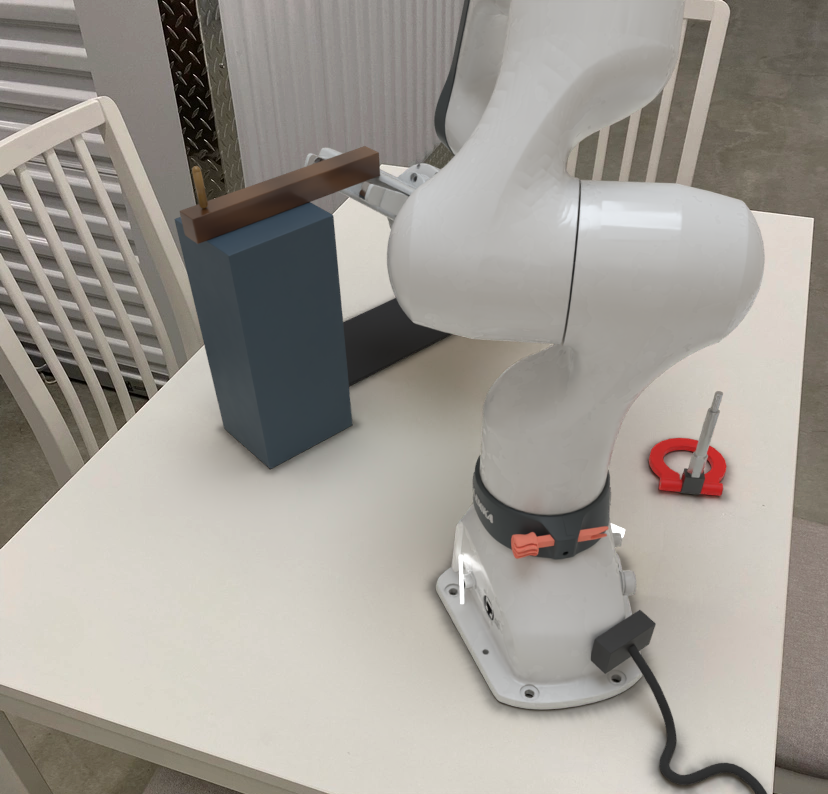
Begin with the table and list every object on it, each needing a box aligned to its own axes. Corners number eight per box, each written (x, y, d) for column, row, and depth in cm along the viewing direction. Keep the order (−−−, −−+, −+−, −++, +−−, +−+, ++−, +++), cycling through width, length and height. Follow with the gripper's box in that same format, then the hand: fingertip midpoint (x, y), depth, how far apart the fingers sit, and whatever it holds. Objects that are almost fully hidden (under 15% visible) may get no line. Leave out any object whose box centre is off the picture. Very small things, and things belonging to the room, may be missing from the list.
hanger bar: (366, 169, 87) (362, 106, 82) (380, 176, 86) (377, 112, 81) (184, 235, 77) (169, 168, 73) (197, 244, 76) (182, 177, 72)
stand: (304, 388, 104) (275, 182, 85) (352, 425, 99) (333, 214, 80) (223, 428, 99) (173, 218, 80) (270, 469, 94) (228, 255, 75)
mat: (399, 298, 118) (399, 296, 118) (455, 332, 112) (455, 329, 112) (285, 351, 110) (285, 348, 110) (339, 391, 104) (339, 388, 103)
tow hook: (646, 442, 96) (650, 493, 90) (670, 345, 87) (676, 393, 81) (719, 448, 95) (729, 500, 89) (751, 351, 86) (764, 401, 80)
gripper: (377, 153, 98) (287, 116, 88) (498, 209, 87) (411, 175, 77) (359, 206, 100) (270, 176, 90) (474, 267, 90) (388, 241, 79)
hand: (336, 176), depth 83 cm, fingers open, 8 cm apart
